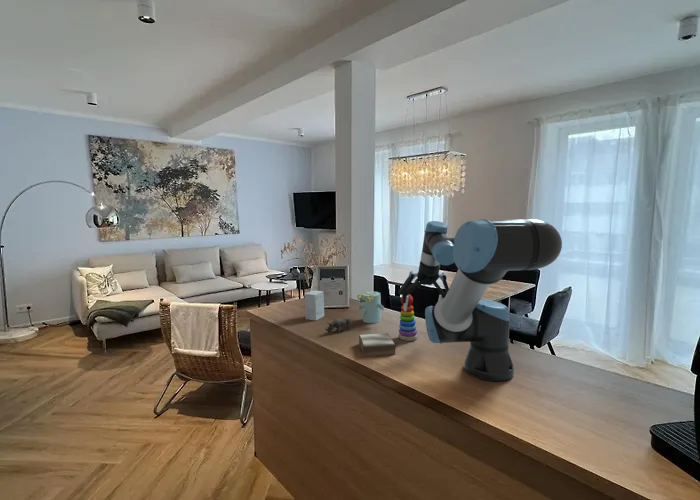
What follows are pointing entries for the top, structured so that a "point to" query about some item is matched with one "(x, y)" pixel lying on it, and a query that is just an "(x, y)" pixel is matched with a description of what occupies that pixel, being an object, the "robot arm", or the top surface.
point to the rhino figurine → (339, 324)
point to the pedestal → (376, 344)
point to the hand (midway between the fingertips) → (421, 310)
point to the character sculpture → (371, 307)
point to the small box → (314, 305)
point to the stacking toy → (407, 322)
